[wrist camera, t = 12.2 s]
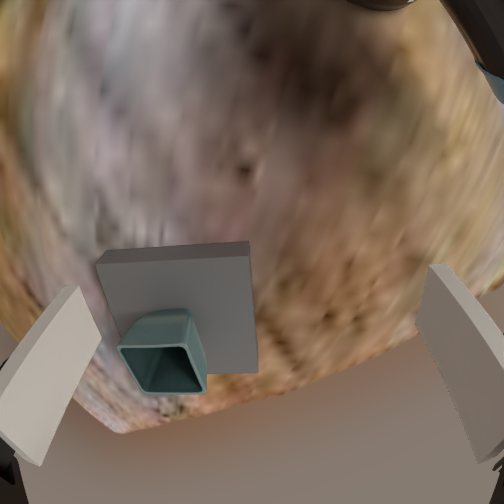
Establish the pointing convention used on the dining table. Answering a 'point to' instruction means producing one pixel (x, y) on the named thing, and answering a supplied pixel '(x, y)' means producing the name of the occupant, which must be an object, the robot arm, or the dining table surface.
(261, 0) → the dining table surface
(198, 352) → the flower pot
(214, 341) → the plinth
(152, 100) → the dining table surface
